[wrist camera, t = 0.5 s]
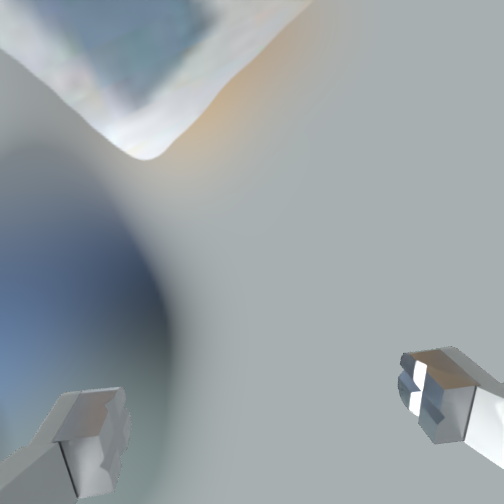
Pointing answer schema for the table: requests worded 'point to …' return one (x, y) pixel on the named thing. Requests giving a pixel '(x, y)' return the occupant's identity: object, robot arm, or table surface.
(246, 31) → the table surface
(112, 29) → the table surface
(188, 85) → the table surface
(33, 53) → the table surface
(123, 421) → the robot arm
